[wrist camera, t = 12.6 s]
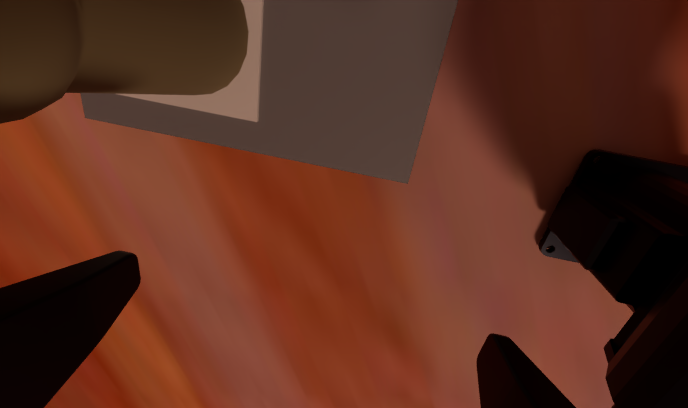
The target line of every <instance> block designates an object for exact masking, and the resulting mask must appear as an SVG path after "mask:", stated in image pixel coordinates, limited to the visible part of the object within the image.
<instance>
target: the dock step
mask: <svg viewBox="0 0 688 408" xmlns="http://www.w3.org/2000/svg"><path fill="white" fill-rule="evenodd" d="M241 2H242V4H243V6H244V10H245V15H246V20H247V26H248V31H249V33H248V45H247V55H246V57H245V60H244V62H243V65H242V67H241V70H240V72H239V73H238V75H237V76H236V77H235V78H234V79H233V80H232V81H231V82H230V84H229V85H228V86H227V87H225V88H223V89H221V90H219V91H217V92H215V93H213V94H204V95H156V94H110V93H81V99H82V104H83V109H84V114H85V118H88V119H93V120H98V121H103V122H108V123H113V124H118V125H122V126H127V127H132V128H137V129H142V130H147V131H152V132H157V133H162V134H167V135H172V136H176V137H181V138H186V139H191V140H196V141H201V142H206V143H211V144H216V145H221V146H225V147H230V148H235V149H240V150H245V151H250V152H255V153H260V154H265V155H270V156H275V157H279V158H284V159H289V160H294V161H299V162H304V163H309V164H314V165H319V166H324V167H328V168H333V169H338V170H343V171H348V172H353V173H358V174H363V175H368V176H373V177H378V178H382V179H387V180H392V181H397V182H402V183H407V184H408V181H409V177H410V174H411V170H412V166H413V163H414V159H415V156H416V152H417V148H418V145H419V141H420V137H421V134H422V130H423V126H424V123H425V119H426V115H427V112H428V108H429V105H430V101H431V97H432V94H433V90H434V86H435V83H436V79H437V75H438V72H439V68H440V64H441V61H442V57H443V54H444V50H445V46H446V43H447V39H448V35H449V32H450V28H451V24H452V21H453V17H454V13H455V10H456V6H457V3H458V0H241Z"/></svg>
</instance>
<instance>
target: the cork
mask: <svg viewBox="0 0 688 408" xmlns="http://www.w3.org/2000/svg"><path fill="white" fill-rule="evenodd" d="M248 33H249V31H248V26H247V20H246V15H245V10H244V6H243V4H242V2H241V0H0V123H5V122H10V121H15V120H20V119H24V118H26V117H28V116H30V115H32V114H34V113H36V112H38V111H40V110H42V109H44V108H45V107H47V106H49V105H50V104H52V103H54V102H55V101H57V100H59V99H60V98H62V97H63V96H64V94H65V93H110V94H156V95H204V94H213V93H215V92H217V91H219V90H221V89H223V88H225V87H227V86H228V85H229V84H230V82H231V81H232V80H233V79H234V78H235V77H236V76H237V75H238V73H239V72H240V70H241V67H242V65H243V62H244V60H245V57H246V55H247V45H248Z"/></svg>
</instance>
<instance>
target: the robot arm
mask: <svg viewBox="0 0 688 408" xmlns="http://www.w3.org/2000/svg"><path fill="white" fill-rule="evenodd" d="M598 156H599V157H600V158H599V160H598V162H596V163H593V160H594V159H595V158H596V157H598ZM548 246H552V247H551V248H550V249H546V248H547V247H548ZM539 250H540V251H541V252H542V253H543V255H545V256H548V257H553V258H558V259H563V260H567V261H572V262H577V263H580V264H581V265H582V266H583V268H584V269H586V270H589V271H590V272H591V273H592V274H593V275H594V276H595V278H596V279H597V280H598V281H599V282H600V283H601V284H602V285H603V286H604V288H605V289H606V290H607V291H608V292H609V293H610V294H611V295H612V296H613V298H614V299H615V300H616V301H618V302H620V303H624V304H626V305H627V306H628V307H629V308H630V309H631V310H632V311H633V315H632V316H631V317H630V319H629V320H628V321H627V323H626V324H625V325H624V326H623V328H622V329H621V330H620V332H619V333H618V334H617V336H616V337H615V338H614V339H610V340H609V341H608V342H607V344H606V345H605V346H604V351H605V354H606V358H607V361H608V368H607V373H606V381H607V384H608V387H609V390H610V394H611V397H612V400H613V402H614V405H613V406H612V407H611V408H688V167H687V166H682V165H676V164H671V163H666V162H661V161H656V160H650V159H645V158H640V157H635V156H630V155H625V154H619V153H614V152H609V151H604V150H592V151H590V152H588V153H587V154H586V155H585V157H584V159H583V161H582V163H581V164H580V166H579V168H578V170H577V172H576V174H575V176H574V178H573V180H572V182H571V184H570V185H569V186H568V187H566V189H565V191H564V193H563V195H562V197H561V199H560V201H559V203H558V205H557V207H556V209H555V210H554V212H553V214H552V216H551V218H550V220H549V222H548V228H547V230H546V232H545V234H544V236H543V238H542V239H541V241H540V243H539ZM140 280H141V277H140V271H139V264H138V258H137V256H136V255H135V254H133V253H129V252H125V251H115V252H112V253H109V254H106V255H102V256H99V257H96V258H93V259H90V260H87V261H84V262H81V263H77V264H74V265H71V266H68V267H65V268H62V269H59V270H55V271H52V272H49V273H46V274H43V275H40V276H37V277H34V278H30V279H27V280H24V281H21V282H18V283H15V284H12V285H8V286H5V287H2V288H0V408H44V407H45V406H46V405H47V403H48V402H49V401H50V400H51V399H52V398H53V396H54V395H55V394H56V393H57V392H58V391H59V389H60V388H61V387H62V386H63V385H64V383H65V382H66V381H67V380H68V379H69V378H70V376H71V375H72V374H73V373H74V372H75V371H76V369H77V368H78V367H79V366H80V365H81V364H82V362H83V361H84V360H85V359H86V358H87V356H88V355H89V354H90V353H91V352H92V351H93V349H94V348H95V347H96V346H97V344H98V343H99V342H100V341H101V339H102V338H103V337H104V335H105V334H106V333H107V331H108V330H109V328H110V327H111V326H112V324H113V323H114V321H115V320H116V318H117V317H118V316H119V314H120V313H121V311H122V310H123V309H124V307H125V306H126V304H127V303H128V301H129V300H130V299H131V297H132V296H133V294H134V293H135V292H136V290H137V289H138V287H139V284H140ZM477 374H478V384H479V394H480V404H481V408H576V407H575V406H574V405H573V404H572V403H571V402H570V401H569V400H568V399H567V398H566V397H565V396H564V395H563V394H562V393H561V391H560V390H559V389H558V388H557V387H556V386H555V385H554V384H553V383H552V382H551V381H550V380H549V379H548V378H547V377H546V376H545V375H544V374H543V373H542V371H541V370H540V369H539V368H538V367H537V366H536V365H535V364H534V363H533V362H532V361H531V360H530V359H529V358H528V357H527V356H526V355H525V354H524V353H523V351H522V350H521V349H520V348H519V347H518V346H517V345H516V344H515V343H514V342H513V341H512V340H511V339H510V338H509V337H507V336H503V335H498V334H494V333H493V334H490V335H488V337H487V339H486V341H485V343H484V345H483V346H482V348H481V350H480V352H479V354H478V357H477Z"/></svg>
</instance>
